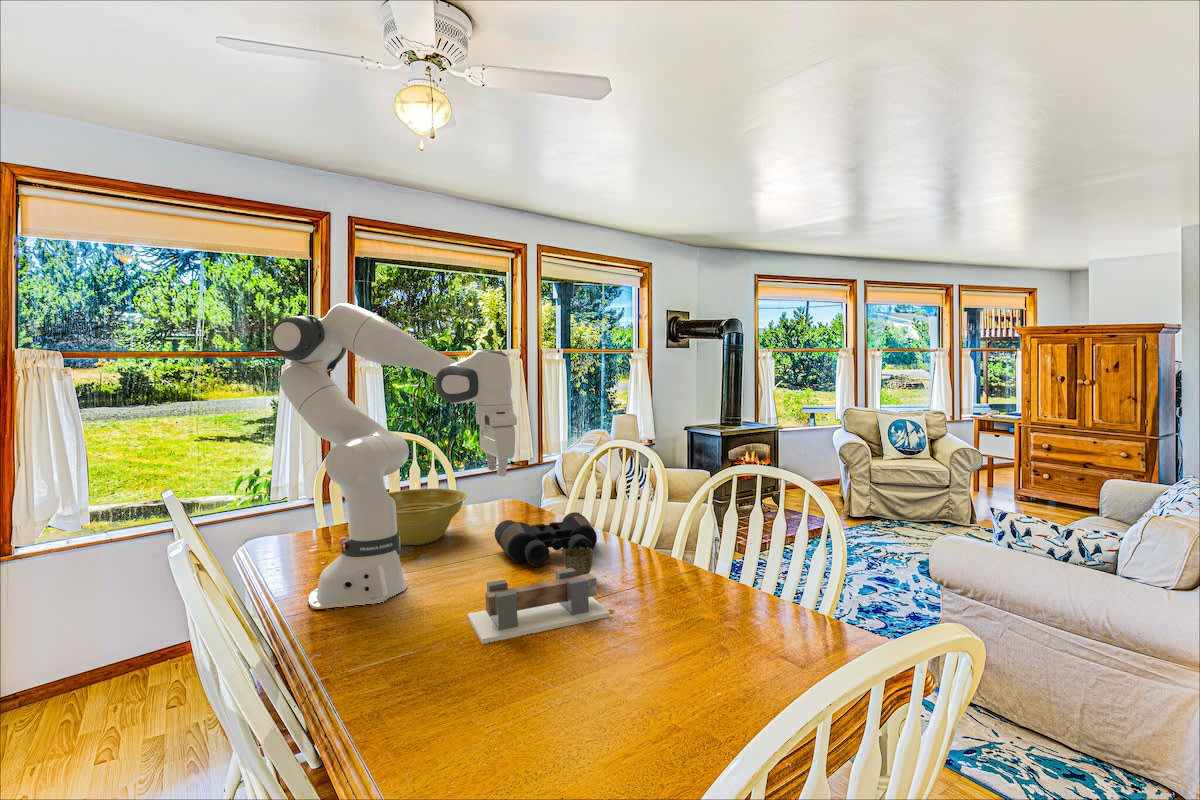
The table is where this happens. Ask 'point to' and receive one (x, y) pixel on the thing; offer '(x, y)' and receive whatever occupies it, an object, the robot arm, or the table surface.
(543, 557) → the binoculars
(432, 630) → the table surface
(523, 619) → the board
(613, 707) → the table surface
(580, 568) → the cup
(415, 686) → the table surface
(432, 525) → the planter bowl
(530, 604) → the walnut bar
